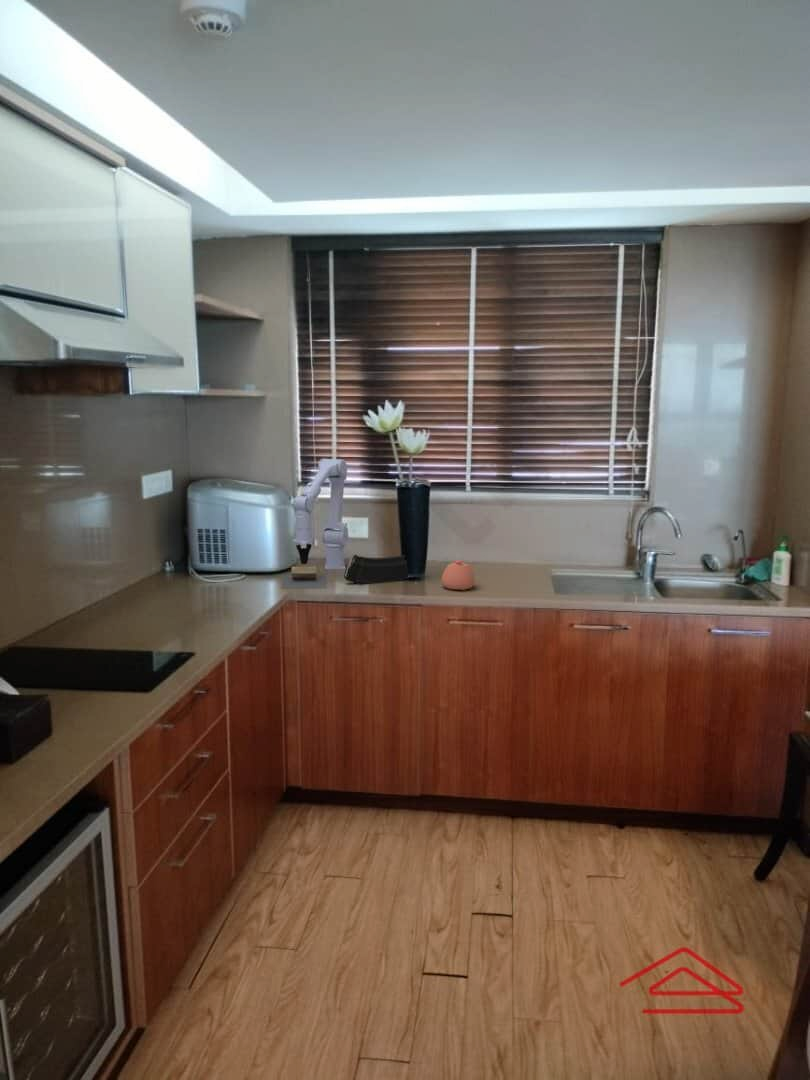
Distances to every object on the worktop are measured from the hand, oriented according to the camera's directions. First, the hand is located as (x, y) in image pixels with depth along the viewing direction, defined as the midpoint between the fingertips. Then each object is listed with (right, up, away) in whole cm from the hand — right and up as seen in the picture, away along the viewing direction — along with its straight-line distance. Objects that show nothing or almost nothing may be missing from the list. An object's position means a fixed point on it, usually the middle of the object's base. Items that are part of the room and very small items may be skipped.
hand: (304, 563), depth 280 cm
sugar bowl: (+58, -9, -9) cm, 59 cm away
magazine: (+30, -7, -1) cm, 31 cm away
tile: (0, -4, +1) cm, 5 cm away
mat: (+1, -7, -4) cm, 8 cm away
